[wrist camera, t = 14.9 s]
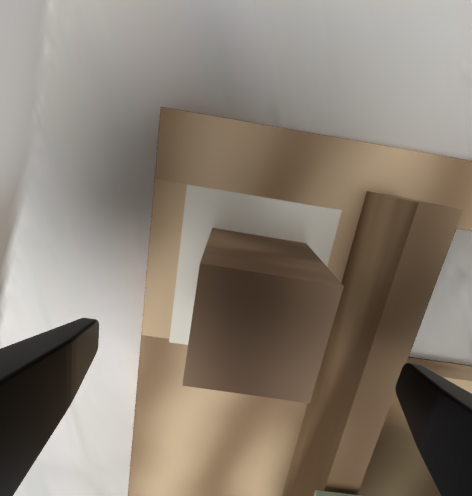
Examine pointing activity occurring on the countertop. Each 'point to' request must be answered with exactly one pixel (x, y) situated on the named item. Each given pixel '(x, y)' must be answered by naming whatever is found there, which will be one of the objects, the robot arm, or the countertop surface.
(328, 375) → the puzzle board
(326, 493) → the sliding cover
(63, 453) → the countertop surface
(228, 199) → the cream pad
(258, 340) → the walnut block
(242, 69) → the countertop surface
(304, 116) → the countertop surface
